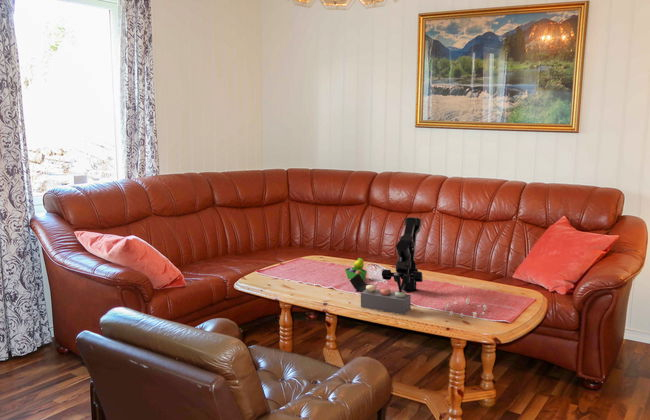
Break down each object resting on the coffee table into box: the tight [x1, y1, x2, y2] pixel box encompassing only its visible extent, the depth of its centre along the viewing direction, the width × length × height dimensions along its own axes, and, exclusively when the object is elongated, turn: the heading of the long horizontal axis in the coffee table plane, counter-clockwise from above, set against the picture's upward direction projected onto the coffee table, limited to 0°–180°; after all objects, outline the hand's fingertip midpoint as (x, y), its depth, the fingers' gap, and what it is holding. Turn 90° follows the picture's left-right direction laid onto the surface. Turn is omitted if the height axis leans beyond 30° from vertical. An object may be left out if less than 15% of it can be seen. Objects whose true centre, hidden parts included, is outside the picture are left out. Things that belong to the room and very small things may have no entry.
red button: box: [379, 288, 392, 295], centre depth 271 cm, size 5×5×4 cm
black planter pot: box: [349, 274, 377, 293], centre depth 301 cm, size 13×8×11 cm
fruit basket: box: [344, 257, 368, 281], centre depth 316 cm, size 11×9×11 cm
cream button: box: [366, 284, 377, 293], centre depth 275 cm, size 5×5×4 cm
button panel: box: [360, 288, 412, 316], centre depth 272 cm, size 22×8×7 cm, turn 59°
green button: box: [395, 290, 406, 298], centre depth 267 cm, size 5×5×4 cm
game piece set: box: [444, 297, 487, 319], centre depth 267 cm, size 19×20×4 cm
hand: (400, 291), depth 267 cm, fingers closed
